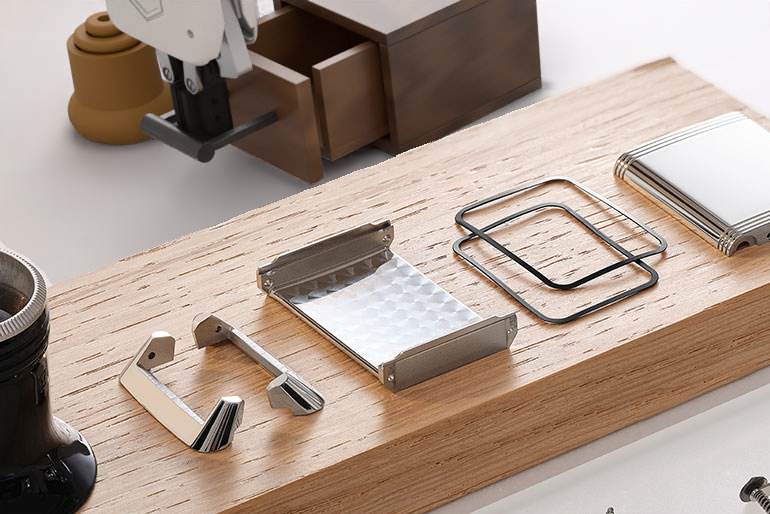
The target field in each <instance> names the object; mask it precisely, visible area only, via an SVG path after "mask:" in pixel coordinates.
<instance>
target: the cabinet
mask: <svg viewBox="0 0 770 514" xmlns="http://www.w3.org/2000/svg"><path fill="white" fill-rule="evenodd" d="M537 3H538V2H537V0H272V5H273V12H274V11H276V10H279V9H281V8H283V7H286V6H288V5H290V4H292V5H294V6H296V7H298V8H301V9H303V10H305V11H307V12H310V13H312V14H314V15H317V16H319V17H321V18H323V19H326V20H328V21H330V22H332V23H335V24H337V25H339V26H342V27H344V28H346V29H348V30H351V31H353V32H355V33H357V34H360V35H362V36H364V37H367V38H369V39H371V40H373V41H376V42H378V43H380V44H379V47H380V55H381V64H382V72H383V81H384V89H385V98H386V106H387V115H388V123H389V131H390V133H389V134H387V135H385V136H383V137H381V138H379V139H377V140H375V141H373V142H371V143H369V144H368V145H371V146H373V147H375V148H377V149H379V150H382V151H383V152H386V153H388V154H390V155H392V156H394V157H396V155H398V154H401V153H403V152H406V151H408V150H410V149H413V148H416V147H419V146H422V145H424V144H427V143H430V142H432V141H434V142H436V141H438V140H441V139H442V138H444V137H446V136H449V135H450V134H452V133H454V132H456V131H458V130H460V129H462V128H464V127H466V126H468V125H469V124H472V123H474V122H476V121H477V120H479V119H481V118H484V117H485V116H488V115H489V114H491V113H493V112H496V111H497V110H499V109H502V108H503V107H504V106H505V107H506V106H507V105H509V104H510V103H513V102H515V101H517V100H519V99H521V98H523V97H524V96H527V95H529V94H530V93H532V92H535V91H536V90H538V89H540V88H542V87H543V80H542V67H541V51H540V35H539V22H538V5H537ZM437 139H438V140H437ZM435 140H436V141H435ZM432 143H433V142H432ZM430 144H431V143H430Z"/></svg>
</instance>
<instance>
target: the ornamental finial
mask: <svg viewBox="0 0 770 514" xmlns="http://www.w3.org/2000/svg"><path fill="white" fill-rule="evenodd" d="M66 50H67V56H68V61H69V67H70V72H71V77H72V78H71V79H72V85H73V92H72V94H71V95H70V97H69V100H68V104H67V116H68V120H69V123H70V125H71V126H72V128H73V129H74V130H75V132H77V133H78V134H79V135H80V136H81V137H83V138H85V139H87V140H88V141H91V142H94V143H97V144H100V145H106V146H127V145H133V144H134V145H135V144H138V143H142V142H146V141H149V140H151V139H153V138H152V137H150V136H149V135H147V134H145V133H143V132H142V131H141V129H140V122H141V119H142V118H143V117H144V116H145V115H146V114H149V113H152V114H155V115H157V116H161V115H163V114H165V113H168V112H170V111H172V110H174V106H173V100H172V95H171V90H170V84H169V83H167V82H166V81H165V80H164V79H162V76H161V71H160V67H159V63H158V59H157V55H156V54H157V53H156V51H155V49H154V48H153V47H152V46H150V45H148V44H146V43H144V42H142V41H140V40H138V39H136V38H134V37H132V36H130V35H128V34H126V33H124V32H122V31H121V30H119V29H118V28H117V27H116V26H115V25H114V24H113V23H112V22H111V20H110V18H109V15H108V11H107V10H106V11H105V10H104V11H99V12H96V13H95V12H94V13H93V14H91V15H89V16H88V17H87V18H86V19H85V21H84V22H82V23H81V24H79V25H78V26H77V27H76V28H75V29H74V31H73V33H71V34H70V35H69V37H68V38H67V40H66Z"/></svg>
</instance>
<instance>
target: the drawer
mask: <svg viewBox="0 0 770 514" xmlns="http://www.w3.org/2000/svg"><path fill="white" fill-rule="evenodd" d="M379 44H380V43H378V42H376V41H373V40H371V39H369V38H367V37H364V36H362V35H360V34H357V33H355V32H353V31H351V30H348V29H346V28H344V27H342V26H339V25H337V24H335V23H332V22H330V21H328V20H326V19H323V18H321V17H319V16H317V15H314V14H312V13H310V12H307V11H305V10H303V9H301V8H298V7H296V6H294V5H292V4H290V5H288V6H286V7H283V8H281V9H279V10H276V11H274V10H273V11H272V12H270V13H269V12H268V13H267V14H264V15H261V16H260V18H258V19H257V38H256V41H255V42H254V43H253V44H250V45H246V46H247V50H248V53H249V56H250V59H251V63H252V66H253V70H252V72H250V73H248V74H246V75H243V76H241V77H239V78H237V79H232V78H230V79H228V80H226V84H227V90H228V96H229V102H230V108H231V114H232V120H233V129H232V130H230V131H228V132H225V133H223V134H221V135H219V136H217V137H215V138H213V139H211V140H208V141H206V140H204V139H202V138H200V137H198V136H196V135H194V134H192V133H190V132H188V131H186V130H184V129H182V128H180V127H178V126H177V124H175V123H177V122H176V116H175V111H174V110H172V111H170V112H168V113H165V114H163V115H161V116H157V115H155V114H152V113H149V114H146V115H145V116H144V117H143V118H142V119H141V122H140V129H141V131H142V132H143V133H145V134H147V135H149V136H150V137H152V138H151V139H155V140H156V141H158V142H160V143H162V144H164V145H165V146H168V147H170V148H172V149H174V150H176V151H177V152H180V153H181V154H183V155H186V156H187V157H189V158H192V159H193V160H195V161H197V162H199V163H201V164H207V163H209V162H211V161H212V160H213V159H214V157H215V153H216V152H217V151H218V150H220V149H223V148H224V147H227V146H230V145H231V146H232V147H234V148H237V149H239V150H240V151H243V152H245V153H246V154H249V155H251V156H253V157H255V158H256V159H259V160H260V161H262V162H264V163H266V164H268V165H271V166H272V167H274V168H276V169H278V170H281V171H283V172H284V173H286V174H288V175H290V176H292V177H294V178H296V179H298V180H301V182H305V183H307V184H308V185H310V186H311V185H313V184H316V183H317V182H319V181H322V180H324V179H325V174H324V167H323V160H322V158H324V159H326V160H327V161H330V162H334V161H336V160H339V159H341V158H342V157H345V156H346V155H349V154H350V153H352V152H355V151H357V150H359V149H360V148H362V147H365V146H367V145H370V144H369V143H371V142H373V141H375V140H377V139H379V138H381V137H383V136H385V135H387V134H389V133H390V131H389V123H388V115H387V106H386V98H385V89H384V81H383V72H382V64H381V55H380V47H379Z"/></svg>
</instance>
